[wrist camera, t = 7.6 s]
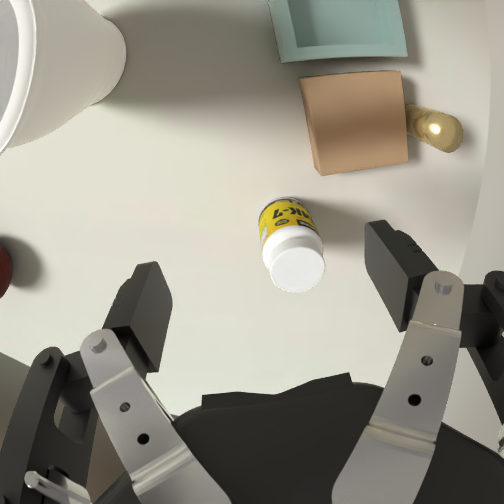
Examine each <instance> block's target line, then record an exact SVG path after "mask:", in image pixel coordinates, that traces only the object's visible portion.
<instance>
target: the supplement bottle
mask: <svg viewBox="0 0 504 504" xmlns="http://www.w3.org/2000/svg"><path fill="white" fill-rule="evenodd" d="M259 231H260V239H261V248H262V256H263V260H264V263H265V265H266V267H267V268H268V270H269V271H270V275H271V278H272V281H273V282H274V284H275V285H276V286H277V287H278V288H280V289H282V290H284V291H287V292H293V293H297V292H303V291H306V290H309V289H311V288H313V287H314V286H315V285H317V284H318V283H319V282H320V280H321V279H322V277H323V275H324V272H325V261H324V258H323V244H322V240H321V238H320V236H319V234H318V232H317V229H316V227H315V225H314V223H313V221H312V219H311V216H310V214H309V212H308V210H307V209H306V207H305V206H304V205H303V204H302V203H301V202H300V201H298V200H296V199H293V198H288V197H283V198H277V199H274V200H272V201H270V202H269V203H268V204H266V205H265V206H264V208H263V209H262V211H261V213H260V216H259Z"/></svg>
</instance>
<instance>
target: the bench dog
mask: <svg viewBox="0 0 504 504" xmlns="http://www.w3.org/2000/svg"><path fill="white" fill-rule="evenodd" d="M405 117H406V129H407V134H408V135H410V136H413V137H415V138H417V139H419V140H421V141H423V142H425V143H427V144H429V145H431V146H433V147H435V148H437V149H439V150H441V151H443V152H447V153H450V152H453V151H455V150H456V149H457V148H458V147H459V146H460V144H461V142H462V139H463V129H462V125H461V123H460V122H459V120H458V119H457V118H455V117H453V116H451V115H448V114H444V113H441V112H438V111H435V110H431V109H428V108H424V107H421V106H417V105H413V104H411V105H407V106H405Z"/></svg>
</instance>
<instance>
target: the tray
mask: <svg viewBox="0 0 504 504" xmlns="http://www.w3.org/2000/svg"><path fill="white" fill-rule="evenodd" d="M268 4H269V9H270V13H271V18H272V22H273V27H274V32H275V36H276V41H277V46H278V51H279V56H280V61H281V63H288V62H297V61H306V60H317V59H331V58H350V57H408V54H407V47H406V41H405V35H404V29H403V23H402V18H401V13H400V8H399V4H398V0H268Z"/></svg>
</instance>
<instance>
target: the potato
mask: <svg viewBox="0 0 504 504" xmlns="http://www.w3.org/2000/svg"><path fill="white" fill-rule="evenodd" d="M11 277H12V262H11V259H10V256H9V254H8V253H7V252H6V251H5V250H4V249H3V248H2V247H0V298H1V297H3V295H4V294H5V292H6V290H7V289H8V287H9V285H10V281H11Z"/></svg>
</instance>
